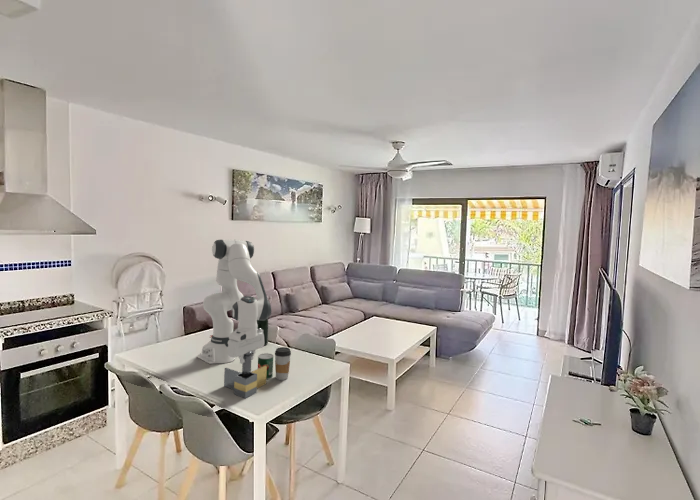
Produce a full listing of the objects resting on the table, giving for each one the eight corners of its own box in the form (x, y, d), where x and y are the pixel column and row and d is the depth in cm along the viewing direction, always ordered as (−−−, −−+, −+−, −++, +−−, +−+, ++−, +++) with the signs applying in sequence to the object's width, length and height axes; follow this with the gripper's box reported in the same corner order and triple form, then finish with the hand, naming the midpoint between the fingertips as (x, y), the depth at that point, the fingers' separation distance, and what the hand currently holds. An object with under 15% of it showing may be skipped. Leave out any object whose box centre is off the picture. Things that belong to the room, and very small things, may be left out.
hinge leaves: (218, 388, 180) (219, 370, 179) (245, 376, 195) (245, 359, 194) (245, 398, 172) (246, 379, 171) (270, 385, 186) (271, 367, 186)
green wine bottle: (265, 347, 242) (267, 296, 240) (249, 346, 242) (251, 295, 240) (269, 342, 252) (271, 293, 250) (254, 341, 253) (256, 292, 251)
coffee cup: (286, 381, 191) (287, 353, 190) (271, 379, 193) (272, 351, 192) (292, 375, 200) (293, 348, 199) (277, 373, 201) (278, 346, 200)
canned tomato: (256, 379, 192) (256, 358, 192) (258, 373, 200) (259, 353, 200) (271, 379, 193) (272, 358, 192) (273, 373, 201) (274, 353, 200)
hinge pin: (238, 381, 175) (238, 351, 174) (246, 377, 179) (247, 348, 179) (246, 383, 172) (247, 353, 171) (254, 380, 177) (255, 350, 176)
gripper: (258, 326, 185) (257, 353, 186) (225, 335, 167) (225, 366, 168) (268, 328, 182) (267, 356, 183) (236, 338, 164) (235, 369, 165)
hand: (246, 361), depth 175 cm, fingers closed on hinge pin, 4 cm apart
